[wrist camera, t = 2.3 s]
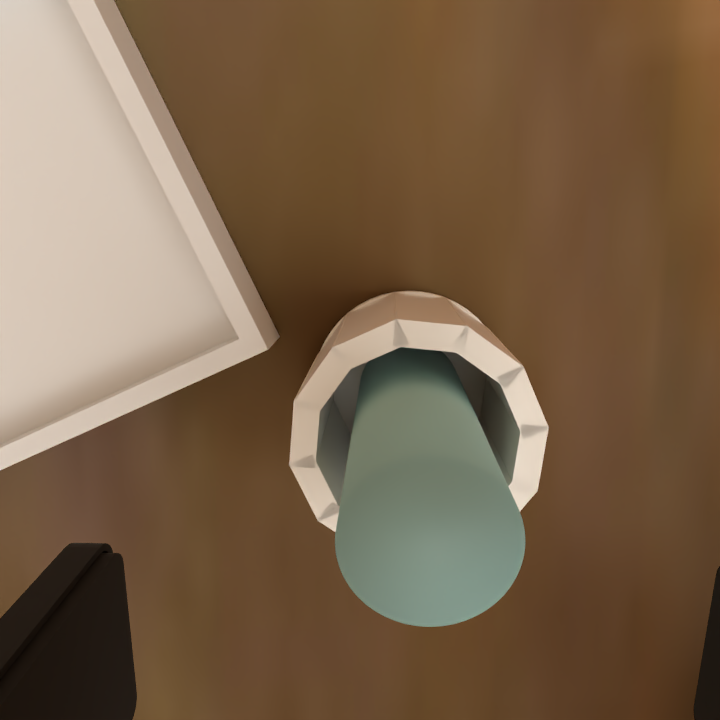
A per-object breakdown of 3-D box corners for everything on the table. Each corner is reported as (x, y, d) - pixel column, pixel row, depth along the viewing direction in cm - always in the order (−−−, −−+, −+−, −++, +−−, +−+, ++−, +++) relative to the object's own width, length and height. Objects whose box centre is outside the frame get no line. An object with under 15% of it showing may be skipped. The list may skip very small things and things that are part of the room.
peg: (435, 323, 24) (482, 425, 12) (474, 412, 25) (553, 588, 13) (343, 364, 24) (303, 498, 13) (384, 449, 25) (381, 651, 13)
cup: (459, 258, 24) (489, 274, 17) (531, 430, 25) (585, 508, 18) (283, 338, 25) (243, 383, 18) (362, 498, 26) (353, 596, 19)
